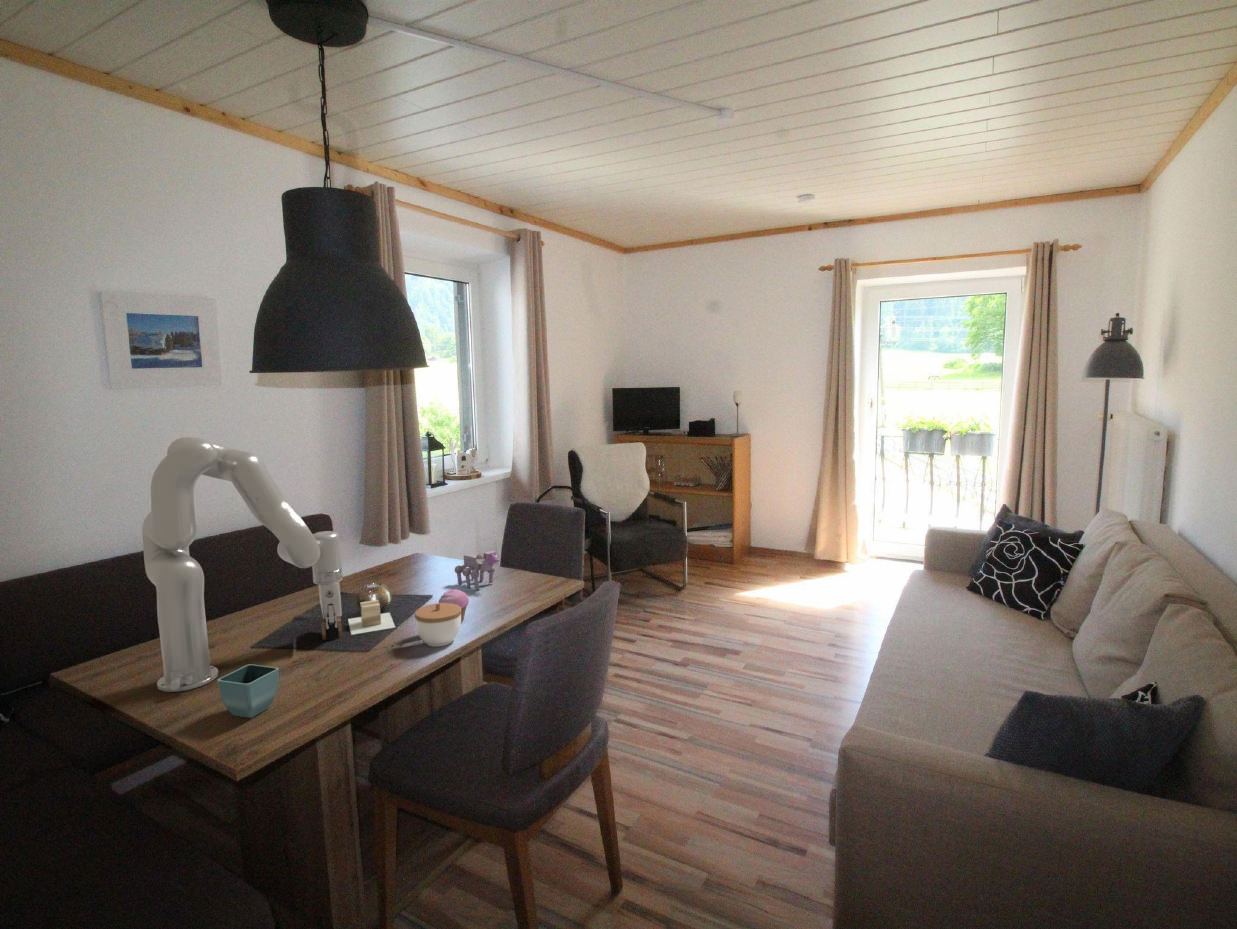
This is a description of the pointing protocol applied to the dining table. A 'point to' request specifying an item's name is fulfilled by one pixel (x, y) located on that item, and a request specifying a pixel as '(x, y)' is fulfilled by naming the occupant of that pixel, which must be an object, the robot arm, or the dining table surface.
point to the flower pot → (249, 689)
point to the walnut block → (323, 623)
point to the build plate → (358, 628)
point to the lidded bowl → (438, 623)
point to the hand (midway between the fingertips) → (332, 637)
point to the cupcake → (456, 600)
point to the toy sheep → (477, 567)
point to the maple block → (370, 613)
